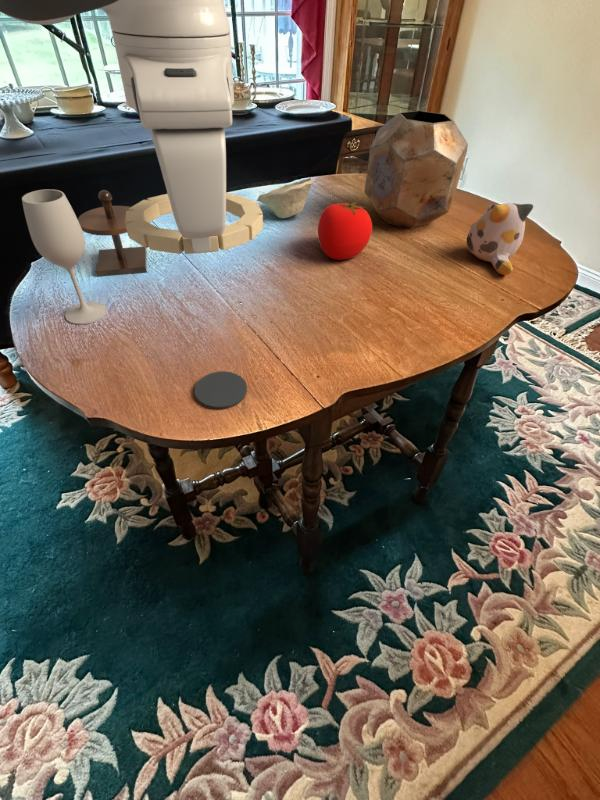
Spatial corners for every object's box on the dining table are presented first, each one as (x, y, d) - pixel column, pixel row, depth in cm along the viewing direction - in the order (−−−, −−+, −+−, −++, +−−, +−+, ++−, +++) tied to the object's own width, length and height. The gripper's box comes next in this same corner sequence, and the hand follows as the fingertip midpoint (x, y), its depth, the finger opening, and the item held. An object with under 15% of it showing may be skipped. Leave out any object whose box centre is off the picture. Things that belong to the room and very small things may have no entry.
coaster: (197, 413, 63) (196, 410, 63) (193, 377, 69) (192, 374, 69) (250, 405, 65) (250, 402, 65) (242, 371, 71) (242, 368, 70)
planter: (354, 202, 125) (366, 104, 108) (436, 203, 127) (461, 107, 110) (367, 235, 109) (383, 127, 93) (460, 236, 111) (493, 130, 94)
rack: (90, 280, 89) (64, 204, 78) (94, 252, 98) (72, 181, 87) (153, 274, 92) (136, 200, 81) (152, 248, 100) (137, 178, 89)
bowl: (284, 201, 124) (284, 163, 117) (322, 215, 117) (325, 176, 110) (246, 215, 115) (244, 175, 108) (285, 231, 109) (286, 190, 102)
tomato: (304, 258, 99) (306, 207, 91) (329, 237, 108) (333, 188, 100) (353, 272, 95) (360, 220, 87) (375, 248, 104) (383, 199, 96)
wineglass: (83, 330, 77) (37, 209, 62) (55, 316, 79) (4, 198, 65) (116, 310, 82) (80, 194, 67) (89, 298, 84) (49, 184, 69)
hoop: (126, 259, 43) (122, 243, 42) (130, 208, 54) (127, 194, 53) (273, 247, 46) (273, 232, 45) (250, 201, 57) (249, 188, 56)
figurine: (504, 234, 107) (536, 185, 93) (519, 292, 101) (556, 249, 87) (456, 235, 107) (481, 186, 93) (469, 293, 101) (498, 250, 87)
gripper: (139, 59, 42) (165, 206, 51) (136, 106, 28) (173, 296, 37) (205, 59, 43) (218, 203, 53) (235, 105, 29) (246, 289, 39)
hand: (200, 242), depth 45 cm, fingers closed on hoop, 2 cm apart
